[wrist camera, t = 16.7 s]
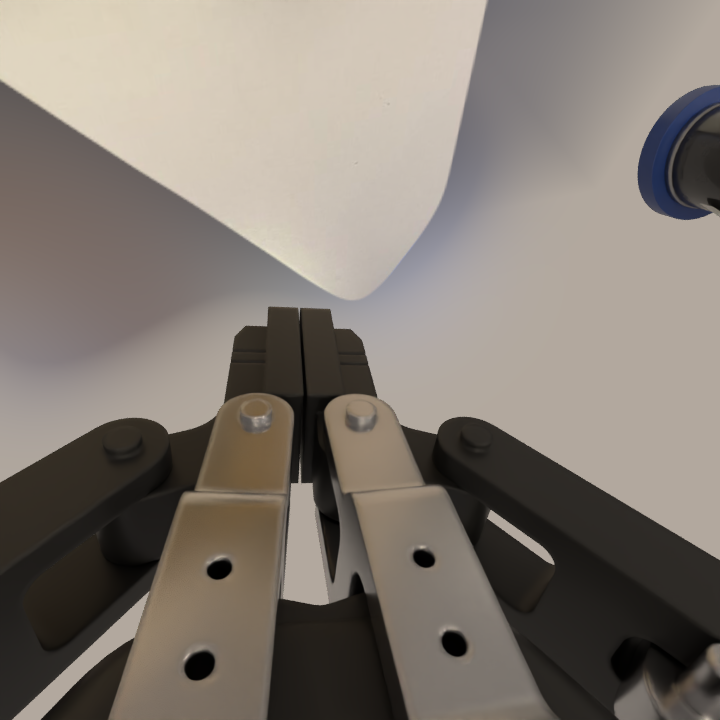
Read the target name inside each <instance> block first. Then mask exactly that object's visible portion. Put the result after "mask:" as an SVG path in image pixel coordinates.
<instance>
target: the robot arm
mask: <svg viewBox="0 0 720 720" xmlns="http://www.w3.org/2000/svg"><path fill="white" fill-rule="evenodd" d="M665 185H666V188H667V191H668V193H669V195H670V196H671V198H672V199H673V200H674V201H675V202H676V203H678V204H680V205H682V206H686V207H690V208H695V209H703V210H707V211H711V212H713V213H715V214H716V215H718V216H719V217H720V102H717V103H714V104H712V105H709V106H707V107H706V108H704V109H702V110H701V111H699V112H698V113H697V114H695V115H694V116H693V117H692V118H691V119H690V120H689V121H688V122H687V123H686V124H685V125H684V127H683V128H682V129H681V131H680V132H679V133H678V135H677V137H676V138H675V140H674V142H673V144H672V146H671V148H670V151H669V153H668V156H667V160H666V165H665ZM299 461H300V463H301V483H313V495H314V501H315V504H316V508H315V517H316V523H317V529H318V535H319V542H320V548H321V554H322V560H323V566H324V572H325V578H326V584H327V590H328V599H329V604H326V605H312V604H306V603H301V602H296V601H290V600H285V599H283V591H284V578H285V565H286V552H287V539H288V526H289V511H290V491H291V483H298V476H299ZM490 510H492V511H494V512H495V513H497V514H498V515H499V516H501V517H502V518H503V519H505V520H506V521H508V522H509V523H510V524H512V525H513V526H515V527H516V528H517V529H519V530H520V531H522V532H523V533H525V534H526V535H527V536H529V537H530V538H532V539H533V540H534V541H536V542H537V543H539V544H540V545H541V546H543V547H544V548H545V549H546V550H547V551H548V553H549V554H550V555H551V557H552V558H553V560H554V563H555V565H552V564H550V563H548V562H546V561H545V560H543V559H542V558H541V557H539V556H538V555H536V554H535V553H534V552H532V551H531V550H529V549H528V548H527V547H525V546H524V545H523V544H521V543H520V542H519V541H517V540H516V539H514V538H513V537H512V536H510V535H509V534H508V533H506V532H505V531H503V530H502V529H501V528H499V527H498V526H496V525H495V524H494V523H492V522H491V521H490V520H488V519H487V517H488V514H489V512H490ZM149 591H150V592H149ZM148 592H149V595H148V598H147V601H146V604H145V607H144V610H143V613H142V616H141V620H140V623H139V626H138V629H137V632H136V635H135V638H133V639H131V640H130V641H128V642H126V643H125V644H123V645H122V646H120V647H119V648H117V649H116V650H114V651H113V652H112V653H110V654H109V655H107V656H106V657H105V658H104V659H103V660H101V661H100V662H99V663H98V664H97V665H95V666H94V667H93V668H92V669H91V670H89V671H88V672H87V673H86V674H85V675H84V676H83V677H82V678H81V679H80V680H79V681H78V682H77V683H76V684H75V685H74V686H73V687H72V688H71V689H70V690H69V691H68V692H67V693H66V694H65V695H64V696H63V697H62V698H61V699H60V700H59V701H58V702H57V704H56V705H55V706H54V707H53V708H52V709H51V710H50V711H49V712H48V713H47V714H46V715H45V716H44V717H43V718H42V719H41V720H720V560H718V559H716V558H715V557H713V556H711V555H710V554H708V553H706V552H705V551H703V550H701V549H700V548H698V547H696V546H695V545H693V544H692V543H690V542H688V541H687V540H685V539H683V538H682V537H680V536H678V535H677V534H675V533H673V532H671V531H670V530H668V529H666V528H665V527H663V526H661V525H659V524H658V523H656V522H655V521H653V520H651V519H650V518H648V517H646V516H644V515H643V514H641V513H640V512H638V511H636V510H635V509H633V508H631V507H629V506H628V505H626V504H625V503H623V502H621V501H620V500H618V499H616V498H615V497H613V496H611V495H610V494H608V493H606V492H604V491H603V490H601V489H599V488H598V487H596V486H594V485H593V484H591V483H589V482H588V481H586V480H584V479H583V478H581V477H579V476H578V475H576V474H574V473H573V472H571V471H569V470H567V469H566V468H564V467H563V466H561V465H559V464H558V463H556V462H554V461H552V460H551V459H549V458H548V457H546V456H544V455H542V454H541V453H539V452H538V451H536V450H534V449H532V448H531V447H529V446H527V445H526V444H524V443H522V442H521V441H519V440H517V439H516V438H514V437H512V436H511V435H509V434H507V433H506V432H504V431H502V430H501V429H499V428H497V427H496V426H494V425H492V424H490V423H488V422H486V421H483V420H480V419H476V418H471V417H457V418H452V419H449V420H447V421H445V422H444V423H443V424H442V425H441V426H440V427H439V430H438V434H437V435H436V434H432V433H428V432H423V431H419V430H415V429H411V428H407V427H405V426H402V425H400V423H399V421H398V419H397V416H396V414H395V412H394V410H393V409H392V408H391V407H390V406H389V405H388V404H387V403H385V402H384V401H382V400H380V399H378V398H377V394H376V390H375V387H374V383H373V379H372V376H371V372H370V368H369V366H368V361H367V357H366V355H365V350H364V346H363V342H362V340H361V339H360V338H359V337H358V336H357V335H356V334H355V333H354V332H353V331H352V330H351V329H334V327H333V322H332V316H331V311H330V309H313V308H300V320H299V313H298V308H290V307H268V324H267V327H265V326H245V327H244V328H243V329H242V330H241V331H240V332H239V333H238V334H237V335H236V336H235V338H234V344H233V352H232V357H231V363H230V370H229V376H228V382H227V388H226V394H225V401H224V404H223V405H222V406H221V408H220V409H219V411H218V413H217V416H215V417H214V418H213V419H212V420H210V421H209V422H207V423H206V424H203V425H201V426H199V427H197V428H194V429H190V430H186V431H182V432H177V433H173V434H168V432H167V430H166V429H165V428H164V427H163V426H162V425H160V424H159V423H157V422H155V421H152V420H148V419H143V418H126V419H119V420H115V421H111V422H108V423H106V424H103V425H101V426H99V427H97V428H95V429H93V430H92V431H90V432H88V433H86V434H85V435H83V436H81V437H79V438H78V439H76V440H74V441H72V442H71V443H69V444H67V445H65V446H64V447H62V448H60V449H58V450H57V451H55V452H53V453H52V454H49V455H48V456H46V457H44V458H42V459H41V460H39V461H38V462H35V463H34V464H32V465H30V466H28V467H27V468H25V469H23V470H22V471H20V472H18V473H16V474H14V475H13V476H11V477H9V478H7V479H6V480H4V481H2V482H1V483H0V720H12V719H13V718H14V717H15V716H16V715H17V714H18V713H19V712H20V711H21V710H23V709H24V708H25V707H26V706H27V705H28V704H29V703H30V702H31V701H32V700H33V699H34V698H35V697H36V696H38V695H39V694H40V693H41V692H42V691H43V690H44V689H45V688H46V687H47V686H48V685H49V684H50V683H51V682H53V680H55V679H56V678H57V677H58V676H59V675H60V674H61V673H62V672H63V671H64V670H65V669H66V668H67V667H68V666H69V665H71V664H72V663H73V662H74V661H75V660H76V659H77V658H78V657H79V656H80V655H81V654H82V653H83V652H85V650H87V649H88V648H89V647H90V646H91V645H92V644H93V643H94V642H95V641H96V640H97V639H98V638H99V637H101V636H102V635H103V634H104V633H105V632H106V631H107V630H108V629H109V628H110V627H111V626H112V625H113V624H114V623H115V622H117V620H119V619H120V618H121V617H122V616H123V615H124V614H125V613H126V612H127V611H128V610H129V609H130V608H132V606H134V605H135V604H136V603H137V602H138V601H139V600H140V599H141V598H142V597H143V596H144V595H145V594H146V593H148Z"/></svg>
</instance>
